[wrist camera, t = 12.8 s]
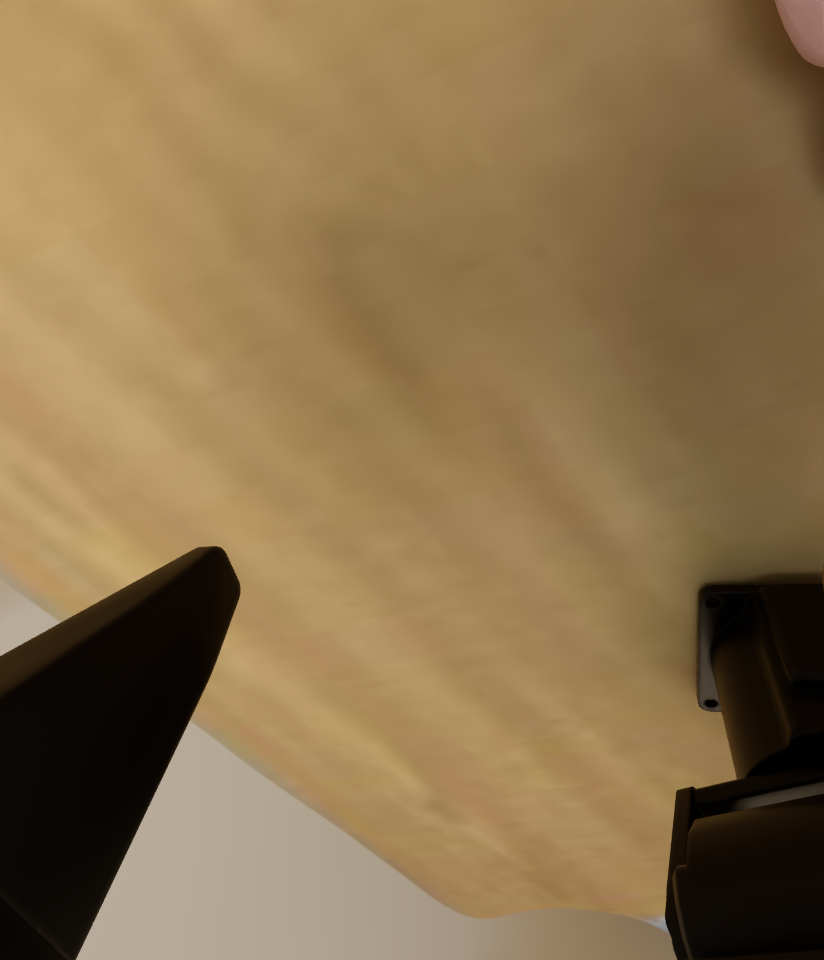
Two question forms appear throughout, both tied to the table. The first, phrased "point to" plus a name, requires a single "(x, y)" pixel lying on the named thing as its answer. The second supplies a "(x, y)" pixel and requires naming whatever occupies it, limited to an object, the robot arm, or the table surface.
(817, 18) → the rabbit figure
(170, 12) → the table surface
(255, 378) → the table surface
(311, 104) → the table surface
